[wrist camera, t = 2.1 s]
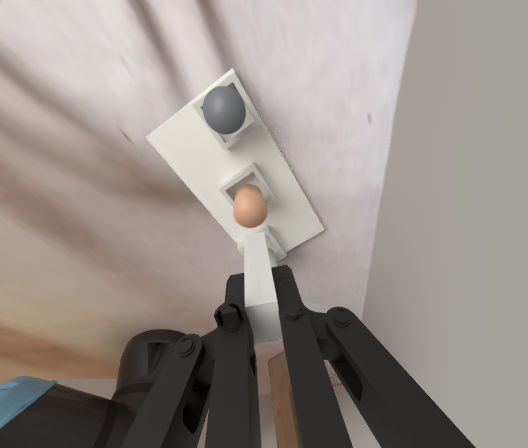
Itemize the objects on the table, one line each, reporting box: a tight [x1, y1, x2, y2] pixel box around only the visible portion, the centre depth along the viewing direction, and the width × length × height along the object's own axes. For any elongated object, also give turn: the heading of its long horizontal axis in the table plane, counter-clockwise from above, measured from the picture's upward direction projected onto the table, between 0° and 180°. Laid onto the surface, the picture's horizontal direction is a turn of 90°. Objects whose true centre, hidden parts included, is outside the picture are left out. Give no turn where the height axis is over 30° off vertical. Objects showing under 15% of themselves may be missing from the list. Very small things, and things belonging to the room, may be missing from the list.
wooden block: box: [268, 352, 302, 448], centre depth 42 cm, size 9×4×18 cm, turn 130°
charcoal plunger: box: [203, 86, 246, 135], centre depth 19 cm, size 4×4×5 cm
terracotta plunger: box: [233, 184, 267, 228], centre depth 24 cm, size 4×4×5 cm
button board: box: [146, 69, 324, 262], centre depth 29 cm, size 13×25×3 cm, turn 33°
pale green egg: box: [267, 248, 278, 268], centre depth 28 cm, size 4×4×5 cm
